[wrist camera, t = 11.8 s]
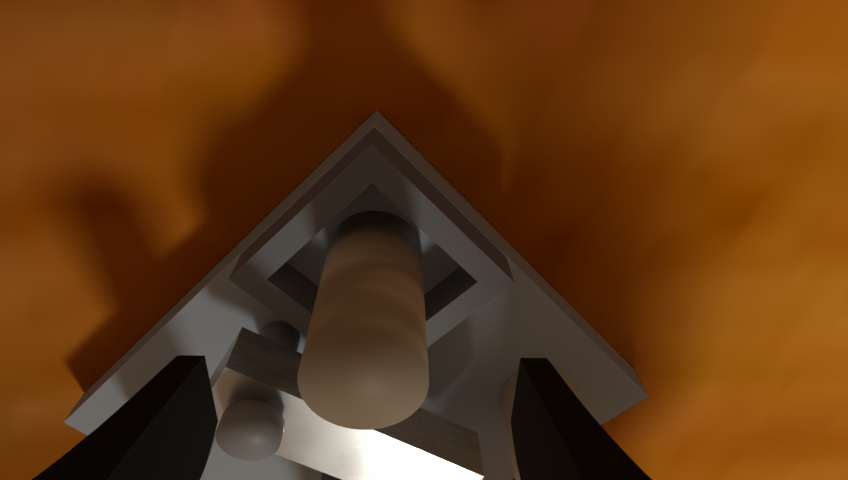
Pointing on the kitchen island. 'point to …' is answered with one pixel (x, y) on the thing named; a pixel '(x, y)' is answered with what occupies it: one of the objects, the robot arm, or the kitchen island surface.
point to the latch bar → (334, 445)
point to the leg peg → (368, 326)
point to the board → (444, 312)
